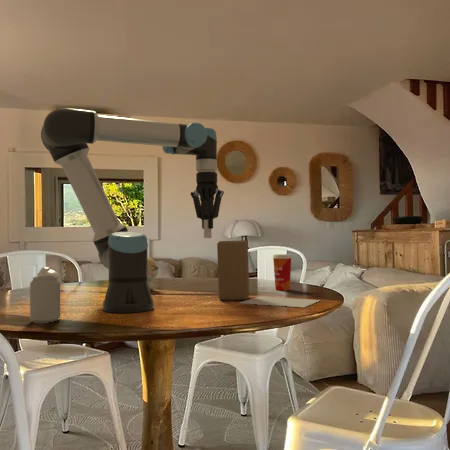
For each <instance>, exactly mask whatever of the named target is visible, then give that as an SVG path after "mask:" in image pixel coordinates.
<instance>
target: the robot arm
mask: <svg viewBox="0 0 450 450" xmlns="http://www.w3.org/2000/svg"><path fill="white" fill-rule="evenodd" d="M40 138H41V142H42V145H43V146H44V148H46V150H47V151H48V152H49V153H50V156H51V158H52V160H53V162H54V164H55V165H56V164H57V166H61V167H62V170H63V172H64V173H65V175H66V177H67V180H68V182H69V184H70V186H71V188H72V190H73V192H74V194H75V196H76V198H77V200H78V201H79V204H80V207H81V208H82V211H83V213H84V215H85V216H86V219H87V222H88V223H89V225H90V227H91V229H92V231H93V233H94V235H93V238H92V242H93V244H94V246H95V248H96V251H97V252H98V257H99V259H98V260H99V261H100V262H101V264H102V265H103V266H104V267H105V268H107V269H108V285H107V289H106V291H105V295H104V300H103V301H102V302H103V303H102V311H103V312H105V313H106V312H107V313H114V314H115V313H117V314H126V313H129V314H130V313H140V312H142V313H143V312H149V311H151V310H153V309H154V304H155V303H154V299H153V296H152V293H151V290H150V289H149V286H148V277H147V276H148V267H147V257H148V247H149V244H148V237H147V235H146V234H144V233H142V232H136V231H129V230H128V228H127V226H126V225H125V224H123V223H120V222H119V219H118V218H117V216H116V213H115V211H114V209H113V207H112V205H111V203H110V201H109V199H108V196H107V194H106V191H105V190H104V188H103V186H102V183H101V182H100V180H99V178H98V176H97V173H96V171H95V169H94V167H93V165H92V163H91V160H90V158H89V156H88V154H89V152H90V147H89V146H88V144H92V145H93V144H95V143H96V142H107V143H108V142H109V143H110V142H111V143H119V144H120V143H121V144H122V143H123V144H133V145H134V144H135V145H146V146H147V145H148V146H158V147H162V150H163V152H164V153H165V154H168V155H169V154H170V155H183V156H184V155H185V156H186V155H187V156H189V155H190V156H195V172H196V173H195V175H196V176H195V178H196V179H195V180H196V182H195V183H196V187H195V190H194V191H192V192H190V196H191V198H192V201H193V204H194V210H195V213H196V214H195V215H196V218H197V219H200V220H201V229H202V230H203V238H204V239H212V236H213V235H212V229H214V220H215V219H217V218H218V217H219V212H220V207H221V202H222V197H223V196H224V194H225V191H224V190H221V189H219V186H218V166H217V165H218V158H217V156H218V155H217V153H218V152H217V150H218V147H217V146H218V145H217V144H218V140H217V139H218V138H217V132H216V130H215V129H214V128H210V127H205V126H204V125H203V124H202V123H199V122H192V123H191V122H190V123H189V124H186V123H185V124H183V123H177V122H176V123H175V122H166V121H158V120H157V121H155V120H146V119H137V118H128V117H121V116H120V117H119V116H111V115H110V116H109V115H108V116H107V115H100V114H97V112H96V111H94V110H87V109H80V108H79V109H78V108H70V107H61V108H56V109H54V110H52V111H50V112H49V113H47V115H46V117H45V118H44V121H43V125H42V127H41V130H40Z"/></svg>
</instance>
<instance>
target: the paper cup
mask: <svg viewBox="0 0 450 450" xmlns="http://www.w3.org/2000/svg"><path fill="white" fill-rule="evenodd" d="M272 256H273V257H272V259H273V260H272V261H273V273H274V285H275V286H274V287H275V288H274V289H275V290H276V291H280V292H281V291H282V292H284V290H288V291H290V290H291V274H292V273H291V269H292V268H291V267H292V258H293V257H292V254H289V253H288V254H287V253H286V254H285V253H283V254H282V253H281V254H278V253H277V254H273V255H272Z"/></svg>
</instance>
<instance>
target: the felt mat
mask: <svg viewBox="0 0 450 450" xmlns="http://www.w3.org/2000/svg"><path fill="white" fill-rule="evenodd" d="M319 301H320V302H321V299H306V298H305V299H304V298H290V297H276V296H275V297H274V296H273V297H272V296H263V295H262V296H261V295H260V296H258V297H254V298H253V297H252V298H250V299H247V300H242V301H239V304H240V303H241V304H242V305H254V304H257V306H267V305H271V306H270V307H281V306H287V307H286V308H294V307H301V308H300V309H305V307H306V308H308V307H310V306H312V304H313V305H315V304H317V303H319ZM316 302H317V303H316ZM314 303H315V304H314ZM241 304H240V305H241ZM309 305H310V306H309ZM307 306H308V307H307Z"/></svg>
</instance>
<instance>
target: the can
mask: <svg viewBox="0 0 450 450" xmlns="http://www.w3.org/2000/svg"><path fill="white" fill-rule="evenodd" d="M60 318H61V283H60V281H59V280H58V279H57V276H33V277H32V281H30V283H29V319H30V320H31V321H32V322H33V323H34V324H50V323H49V322H52V323H54V321H56V322H58V320H59V319H60Z"/></svg>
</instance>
